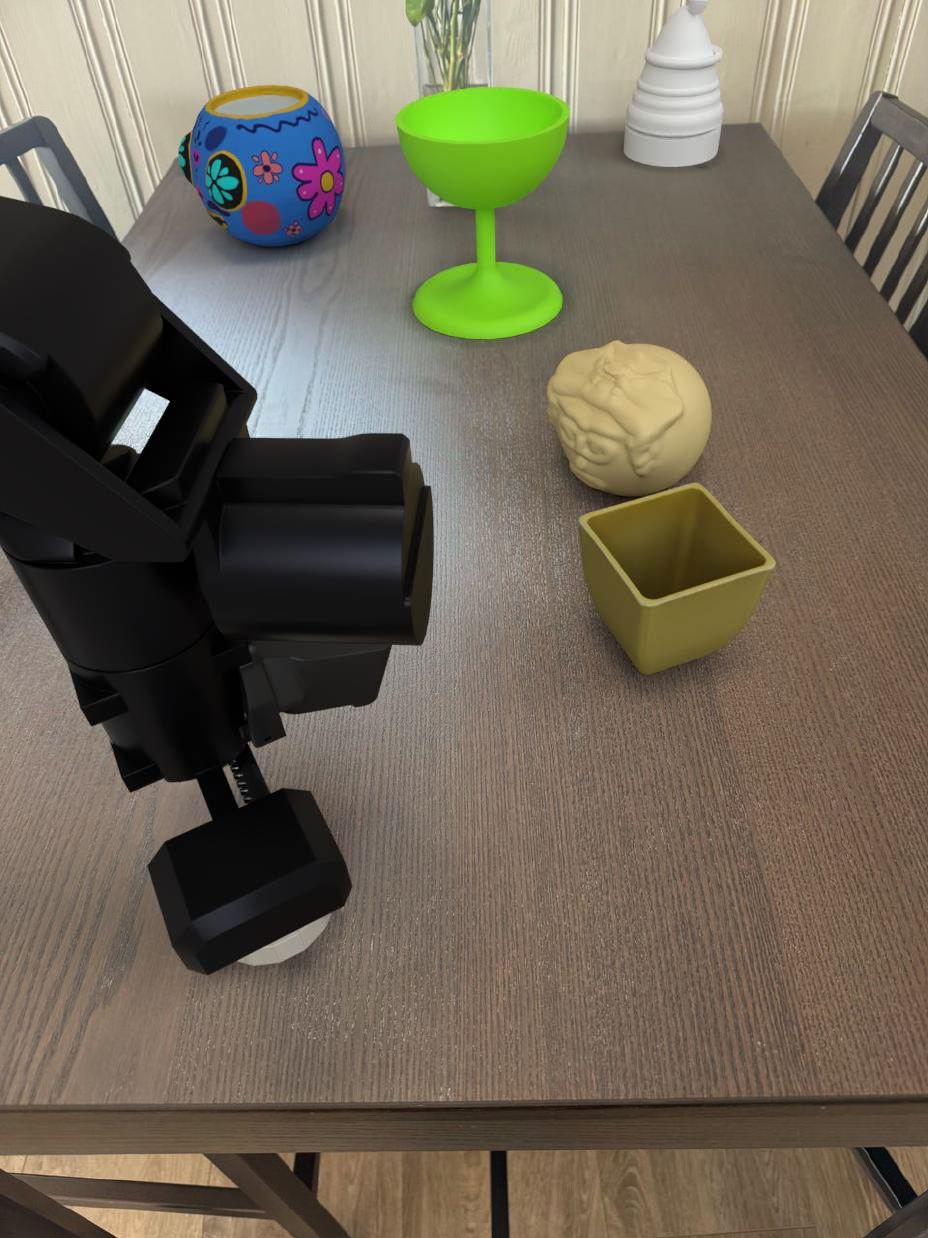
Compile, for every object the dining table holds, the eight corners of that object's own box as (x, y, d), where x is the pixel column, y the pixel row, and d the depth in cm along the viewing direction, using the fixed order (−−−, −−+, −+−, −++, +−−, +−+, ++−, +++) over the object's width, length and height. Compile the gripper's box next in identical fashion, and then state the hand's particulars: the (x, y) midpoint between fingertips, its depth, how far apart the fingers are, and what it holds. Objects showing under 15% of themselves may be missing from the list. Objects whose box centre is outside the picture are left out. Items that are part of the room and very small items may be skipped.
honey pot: (737, 152, 119) (764, -7, 106) (663, 174, 115) (681, 10, 102) (676, 128, 127) (694, -24, 114) (604, 147, 123) (614, -8, 110)
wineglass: (393, 332, 89) (372, 140, 76) (434, 263, 99) (421, 84, 86) (548, 345, 86) (554, 147, 73) (573, 272, 96) (582, 88, 83)
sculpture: (524, 470, 72) (525, 351, 64) (624, 413, 77) (636, 296, 69) (627, 537, 65) (642, 414, 58) (729, 470, 70) (755, 349, 63)
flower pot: (568, 614, 60) (575, 514, 54) (680, 580, 62) (699, 478, 56) (629, 708, 54) (644, 607, 48) (750, 666, 56) (780, 564, 50)
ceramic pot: (188, 233, 108) (151, 98, 97) (315, 197, 115) (294, 66, 104) (244, 283, 98) (210, 138, 87) (381, 241, 104) (365, 100, 93)
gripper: (471, 701, 27) (484, 922, 38) (268, 413, 38) (324, 648, 50) (109, 865, 23) (241, 1055, 35) (7, 495, 35) (130, 727, 46)
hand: (241, 838), depth 41 cm, fingers open, 9 cm apart
